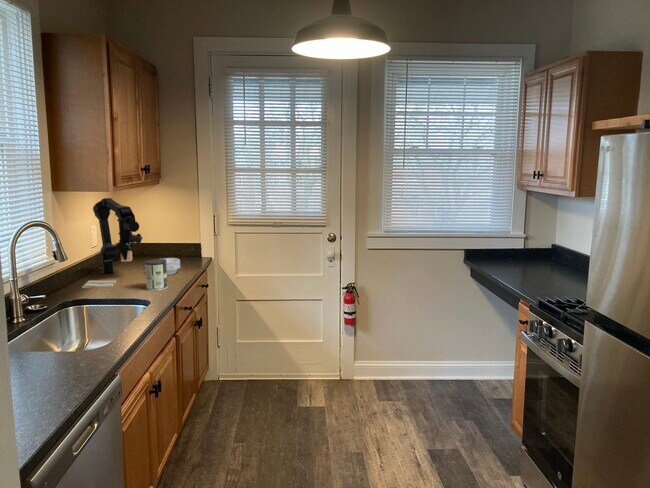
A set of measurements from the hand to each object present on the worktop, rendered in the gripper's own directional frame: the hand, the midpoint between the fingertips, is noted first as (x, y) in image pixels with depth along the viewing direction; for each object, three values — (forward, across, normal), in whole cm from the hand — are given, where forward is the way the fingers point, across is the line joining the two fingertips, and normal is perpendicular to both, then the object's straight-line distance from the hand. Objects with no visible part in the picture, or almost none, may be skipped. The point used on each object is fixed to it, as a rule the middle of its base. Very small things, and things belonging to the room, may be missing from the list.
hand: (126, 258), depth 280 cm
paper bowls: (+11, +9, -19) cm, 24 cm away
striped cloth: (+11, -12, +12) cm, 20 cm away
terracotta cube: (+1, 0, 0) cm, 1 cm away
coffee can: (+11, -25, -18) cm, 33 cm away
